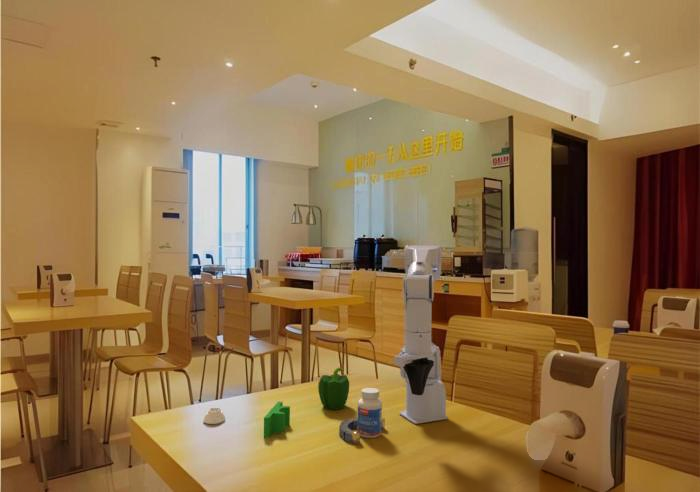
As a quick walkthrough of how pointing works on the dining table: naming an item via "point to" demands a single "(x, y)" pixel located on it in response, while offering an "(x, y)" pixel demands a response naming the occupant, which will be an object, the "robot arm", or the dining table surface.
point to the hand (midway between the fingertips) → (417, 394)
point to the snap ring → (350, 435)
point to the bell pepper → (334, 390)
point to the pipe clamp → (276, 419)
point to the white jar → (214, 416)
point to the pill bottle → (369, 413)
